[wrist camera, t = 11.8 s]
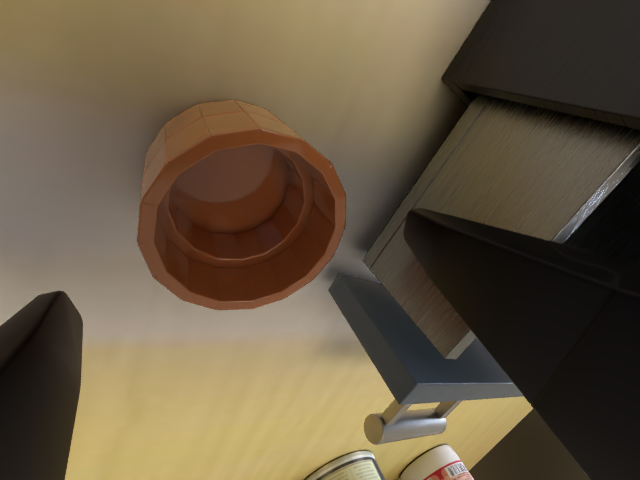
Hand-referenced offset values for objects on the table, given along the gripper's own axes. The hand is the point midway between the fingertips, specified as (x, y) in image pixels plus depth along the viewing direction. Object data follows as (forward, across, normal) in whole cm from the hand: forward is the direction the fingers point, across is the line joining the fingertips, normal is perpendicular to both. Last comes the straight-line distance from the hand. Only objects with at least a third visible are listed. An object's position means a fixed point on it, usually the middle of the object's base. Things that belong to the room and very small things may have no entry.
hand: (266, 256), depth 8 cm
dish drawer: (+5, -12, +6) cm, 14 cm away
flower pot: (+5, 0, 0) cm, 5 cm away
